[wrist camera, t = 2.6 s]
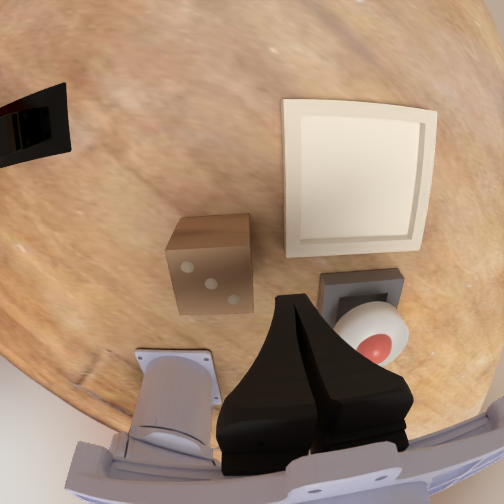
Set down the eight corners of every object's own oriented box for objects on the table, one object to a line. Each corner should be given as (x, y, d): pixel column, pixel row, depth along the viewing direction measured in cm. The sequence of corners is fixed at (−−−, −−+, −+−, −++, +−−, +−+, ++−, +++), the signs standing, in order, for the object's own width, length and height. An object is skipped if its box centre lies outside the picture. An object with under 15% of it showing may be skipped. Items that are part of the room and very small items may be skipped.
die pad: (412, 242, 23) (419, 250, 22) (284, 248, 23) (286, 257, 22) (427, 109, 18) (437, 111, 17) (280, 99, 18) (283, 99, 17)
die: (252, 271, 24) (253, 313, 20) (190, 274, 24) (179, 315, 20) (248, 212, 22) (249, 246, 18) (180, 217, 22) (164, 250, 18)
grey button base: (382, 327, 28) (387, 338, 26) (314, 335, 28) (317, 347, 26) (397, 268, 24) (404, 278, 23) (320, 274, 24) (324, 285, 23)
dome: (384, 337, 26) (402, 377, 22) (324, 344, 26) (335, 388, 22) (399, 285, 23) (424, 325, 19) (331, 291, 23) (347, 336, 19)
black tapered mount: (85, 68, 16) (50, 66, 12) (93, 160, 20) (62, 177, 16) (-18, 108, 16) (-52, 117, 12) (-8, 181, 20) (-38, 199, 16)
